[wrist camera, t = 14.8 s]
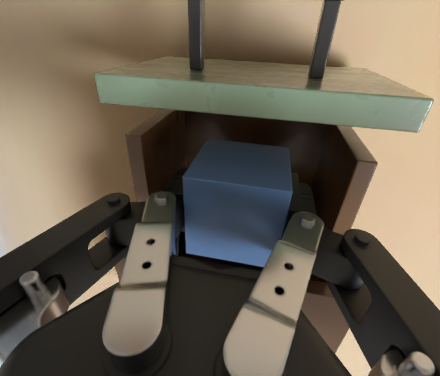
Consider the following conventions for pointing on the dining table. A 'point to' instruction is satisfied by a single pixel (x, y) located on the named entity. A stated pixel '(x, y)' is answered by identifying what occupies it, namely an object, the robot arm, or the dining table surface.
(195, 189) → the block
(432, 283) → the dining table surface
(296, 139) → the drawer
